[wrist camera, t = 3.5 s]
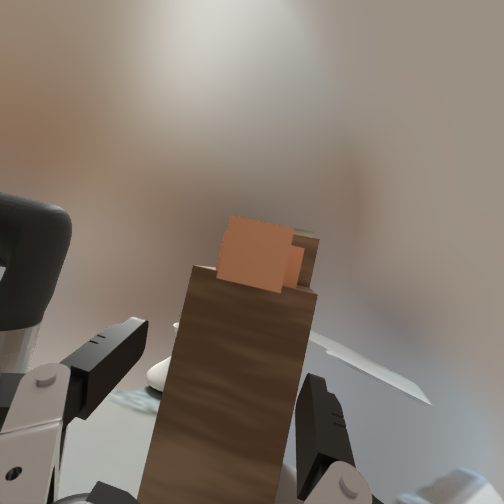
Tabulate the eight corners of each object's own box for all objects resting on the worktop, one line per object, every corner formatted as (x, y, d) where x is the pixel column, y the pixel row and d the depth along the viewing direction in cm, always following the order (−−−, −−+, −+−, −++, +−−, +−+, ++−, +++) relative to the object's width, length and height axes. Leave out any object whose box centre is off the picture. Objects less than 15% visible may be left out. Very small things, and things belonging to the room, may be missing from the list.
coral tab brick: (313, 300, 14) (327, 235, 15) (185, 270, 15) (200, 207, 15) (287, 282, 33) (293, 254, 34) (230, 269, 34) (237, 241, 34)
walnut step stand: (241, 657, 20) (336, 207, 22) (115, 588, 22) (212, 186, 24) (270, 446, 44) (314, 243, 47) (209, 424, 47) (253, 231, 49)
